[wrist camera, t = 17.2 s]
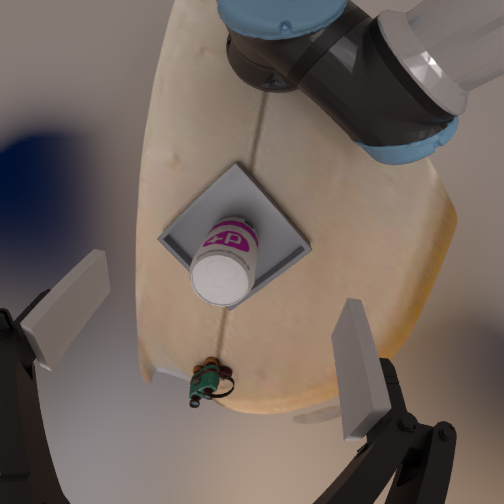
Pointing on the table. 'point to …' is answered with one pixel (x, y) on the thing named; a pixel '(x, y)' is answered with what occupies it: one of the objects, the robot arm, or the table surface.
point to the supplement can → (226, 262)
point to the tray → (245, 206)
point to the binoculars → (208, 382)
